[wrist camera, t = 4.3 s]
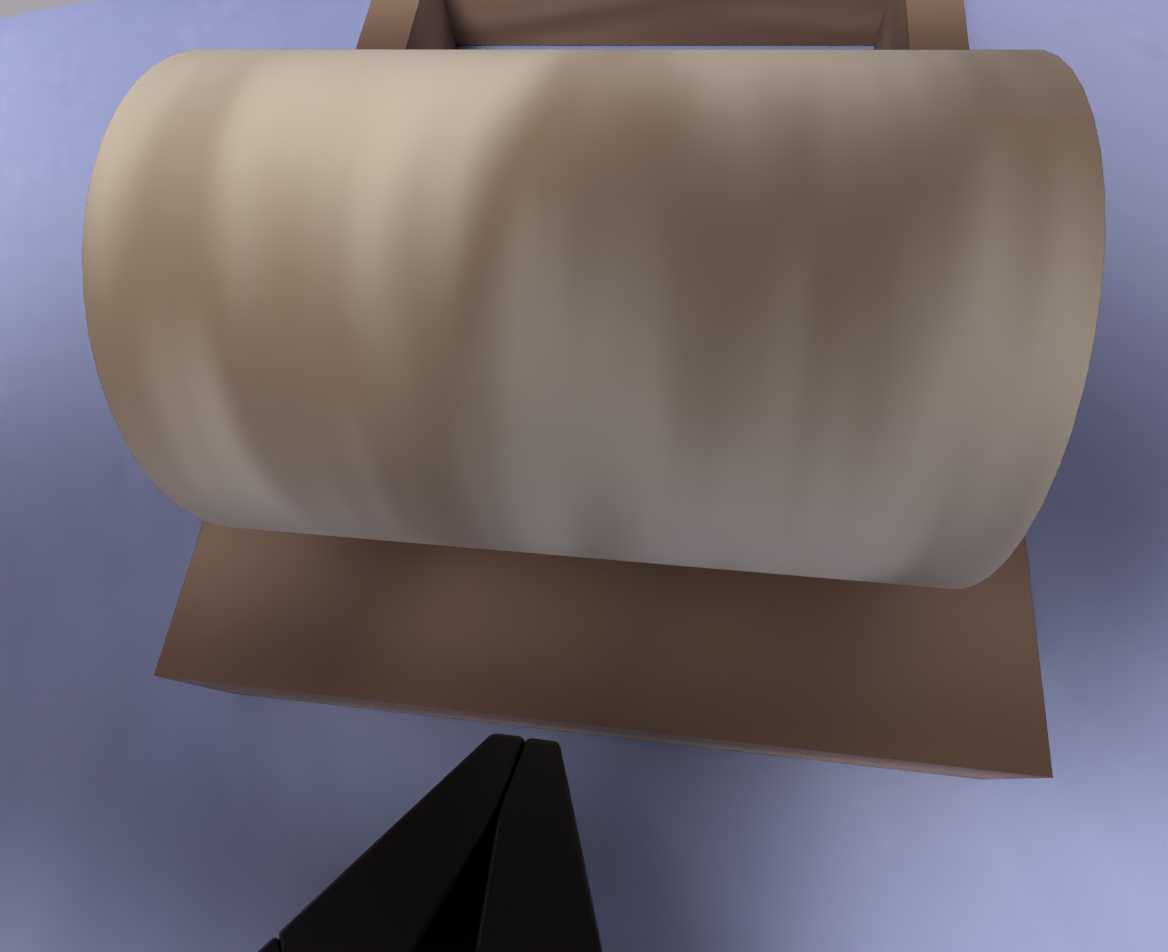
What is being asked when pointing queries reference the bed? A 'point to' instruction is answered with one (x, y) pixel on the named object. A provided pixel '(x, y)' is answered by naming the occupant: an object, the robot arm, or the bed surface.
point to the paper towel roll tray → (622, 588)
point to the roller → (605, 299)
